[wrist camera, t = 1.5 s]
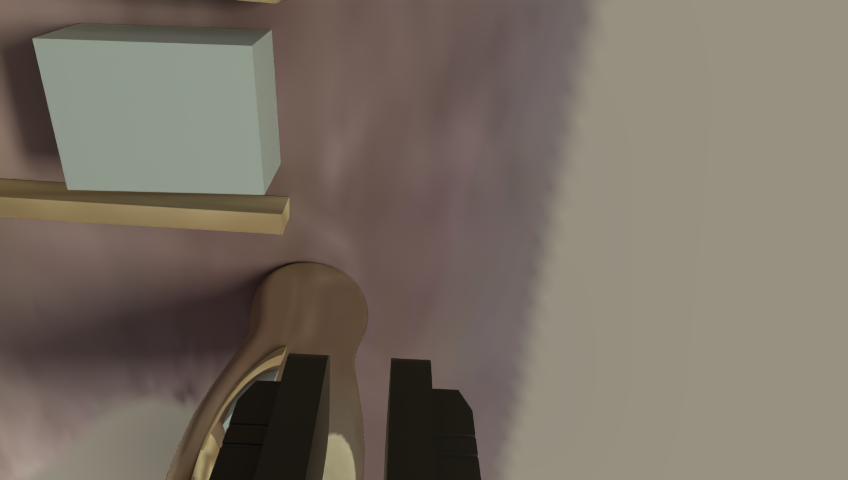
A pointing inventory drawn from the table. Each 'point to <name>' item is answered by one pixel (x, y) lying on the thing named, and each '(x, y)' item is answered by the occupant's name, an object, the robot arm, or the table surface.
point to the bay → (145, 206)
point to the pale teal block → (162, 107)
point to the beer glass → (265, 360)
